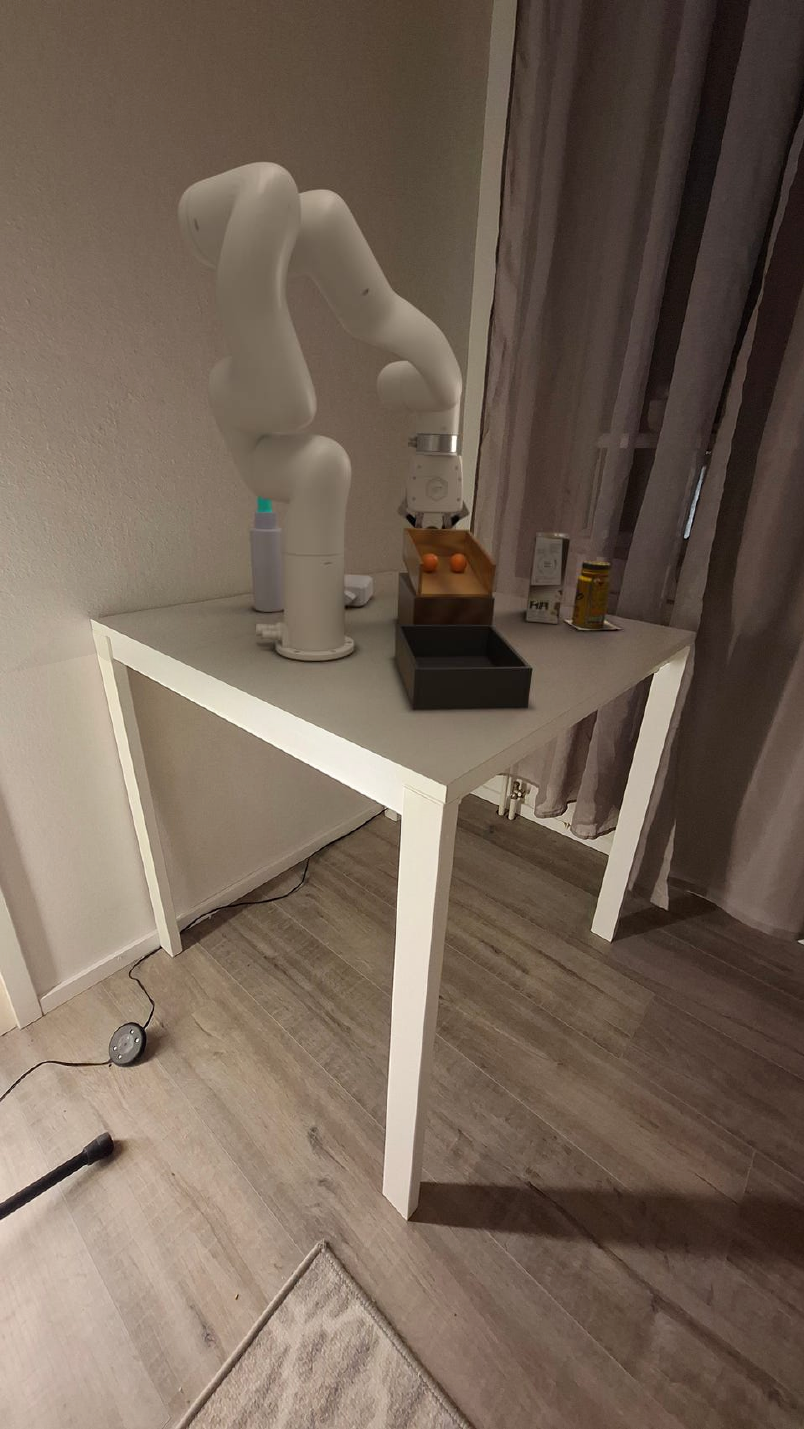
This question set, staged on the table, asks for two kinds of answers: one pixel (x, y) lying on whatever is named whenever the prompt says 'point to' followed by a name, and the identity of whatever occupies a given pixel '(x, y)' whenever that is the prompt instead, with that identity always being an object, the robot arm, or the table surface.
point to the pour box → (447, 563)
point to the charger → (357, 590)
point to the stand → (441, 608)
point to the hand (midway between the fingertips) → (430, 550)
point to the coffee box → (547, 577)
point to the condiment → (592, 597)
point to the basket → (460, 667)
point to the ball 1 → (429, 562)
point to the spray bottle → (266, 559)
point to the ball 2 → (458, 563)
